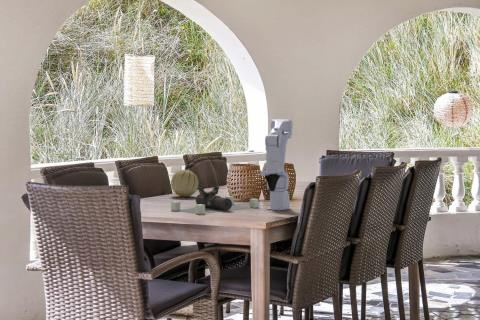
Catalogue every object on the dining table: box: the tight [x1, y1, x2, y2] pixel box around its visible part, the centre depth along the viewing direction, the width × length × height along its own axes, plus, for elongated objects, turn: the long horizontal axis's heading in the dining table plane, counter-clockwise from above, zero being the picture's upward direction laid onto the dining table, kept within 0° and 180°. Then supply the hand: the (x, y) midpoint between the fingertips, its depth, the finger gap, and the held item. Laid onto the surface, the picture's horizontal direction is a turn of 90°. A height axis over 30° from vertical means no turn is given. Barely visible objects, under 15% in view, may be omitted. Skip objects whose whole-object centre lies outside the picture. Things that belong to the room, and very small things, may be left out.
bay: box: [170, 195, 259, 215], centre depth 389 cm, size 40×19×4 cm, turn 138°
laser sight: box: [195, 185, 232, 210], centre depth 389 cm, size 10×22×10 cm, turn 38°
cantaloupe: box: [170, 168, 199, 198], centre depth 441 cm, size 15×15×15 cm
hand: (272, 190), depth 373 cm, fingers closed
